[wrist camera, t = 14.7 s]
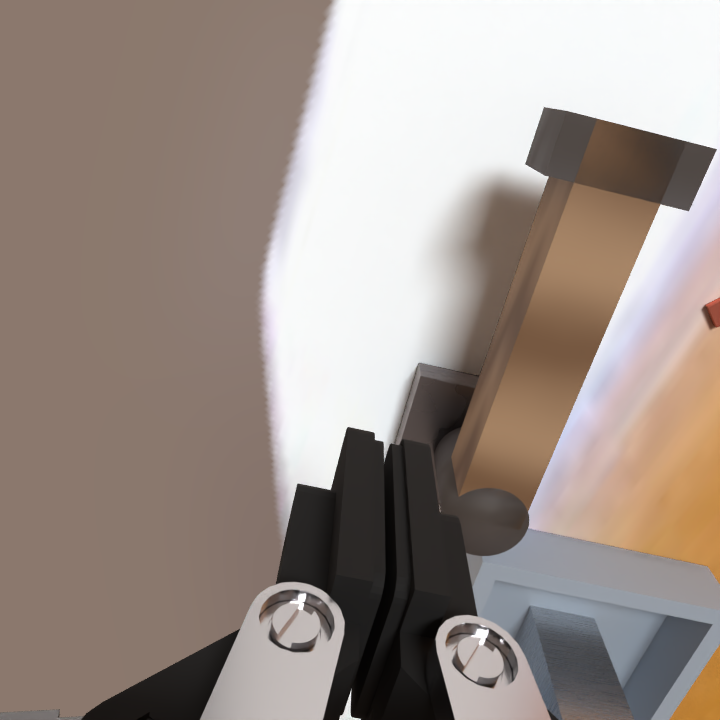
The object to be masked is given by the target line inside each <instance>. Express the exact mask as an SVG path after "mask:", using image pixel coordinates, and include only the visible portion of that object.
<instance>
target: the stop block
mask: <svg viewBox="0 0 720 720" xmlns="http://www.w3.org/2000/svg"><path fill="white" fill-rule="evenodd" d="M514 640H515V641H516V642H517V643H518V645H519V646H520V648H521V650H522V652H523V653H524V655H525V657H526V660H527V662H528V664H529V667H530V669H531V672H532V674H533V677H534V679H535V682H536V684H537V686H538V689H539V691H540V694H541V696H542V699H543V701H544V704H545V706H546V708H547V709H548V710H549V711H550V712H551V713H552V714H553V715H554V716H555V717H556V718H557V719H558V720H634V717H633V715H632V712H631V710H630V707H629V705H628V702H627V700H626V697H625V694H624V692H623V689H622V687H621V684H620V682H619V679H618V677H617V674H616V672H615V669H614V667H613V664H612V661H611V659H610V656H609V654H608V651H607V649H606V646H605V644H604V641H603V639H602V636H601V633H600V631H599V628H598V626H597V623H596V621H595V618H591V617H587V616H582V615H577V614H572V613H567V612H562V611H557V610H552V609H547V608H542V607H537V606H532V605H530V607H529V609H528V611H527V614H526V616H525V618H524V620H523V622H522V624H521V626H520V628H519V631H518V633H517V635H516V637H515V639H514Z"/></svg>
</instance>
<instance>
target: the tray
mask: <svg viewBox="0 0 720 720" xmlns="http://www.w3.org/2000/svg"><path fill="white" fill-rule="evenodd" d="M466 555H467V561H468V566H469V572H470V577H471V582H472V588H473V593H474V599H475V604H476V609H477V615H478V617H481V618H484V619H486V620H488V621H491V622H493V623H495V624H497V625H498V626H499V627H501V628H502V629H504V630H505V631H506V632H508V633H509V634H510V636H511V637H512V638H513V639H515V637H516V635H517V633H518V631H519V628H520V626H521V624H522V622H523V620H524V618H525V616H526V614H527V611H528V609H529V607H530V605H532V606H537V607H542V608H547V609H552V610H557V611H562V612H567V613H572V614H577V615H582V616H587V617H591V618H595V621H596V623H597V626H598V628H599V631H600V633H601V636H602V639H603V641H604V644H605V646H606V649H607V651H608V654H609V656H610V659H611V661H612V664H613V667H614V669H615V672H616V674H617V677H618V679H619V682H620V684H621V687H622V689H623V692H624V694H625V697H626V700H627V702H628V705H629V707H630V710H631V712H632V715H633V717H634V720H669V719H670V717H671V716H672V714H673V713H674V711H675V710H676V708H677V707H678V705H679V704H680V702H681V701H682V700H683V698H684V697H685V695H686V694H687V692H688V691H689V689H690V688H691V686H692V685H693V683H694V682H695V680H696V679H697V677H698V676H699V674H700V673H701V671H702V670H703V668H704V667H705V665H706V664H707V662H708V661H709V659H710V658H711V656H712V655H713V653H714V652H715V650H716V649H717V647H718V646H719V644H720V584H719V583H718V581H717V580H716V578H715V577H714V575H713V574H712V573H711V571H710V570H709V568H708V567H707V566H703V565H698V564H693V563H689V562H684V561H679V560H674V559H670V558H665V557H660V556H655V555H651V554H646V553H641V552H636V551H632V550H627V549H622V548H617V547H613V546H608V545H603V544H598V543H593V542H589V541H584V540H579V539H574V538H570V537H565V536H560V535H555V534H551V533H546V532H541V531H536V530H532V529H527V532H526V534H525V536H524V537H523V538H522V540H521V541H520V542H519V543H518V544H517V545H516V546H514V547H513V548H511V549H510V550H508V551H506V552H503V553H500V554H497V555H492V556H476V555H471V554H468V553H466Z"/></svg>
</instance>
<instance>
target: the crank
mask: <svg viewBox="0 0 720 720" xmlns="http://www.w3.org/2000/svg"><path fill="white" fill-rule="evenodd" d="M716 150H717V149H714V148H710V147H706V146H702V145H698V144H694V143H690V142H686V141H682V140H678V139H674V138H671V137H667V136H663V135H659V134H655V133H651V132H647V131H643V130H639V129H635V128H631V127H627V126H624V125H620V124H616V123H612V122H608V121H604V120H600V119H596V118H592V117H588V116H584V115H580V114H577V113H573V112H569V111H564V110H557V109H551V108H545V107H544V109H543V112H542V115H541V118H540V121H539V124H538V127H537V130H536V133H535V136H534V139H533V142H532V145H531V148H530V151H529V154H528V157H527V161H526V165H528V166H529V167H531V168H533V169H535V170H536V171H538V172H540V173H541V174H543V175H545V176H549V178H548V181H547V184H546V186H545V189H544V192H543V195H542V198H541V201H540V204H539V207H538V209H537V212H536V215H535V218H534V221H533V224H532V227H531V229H530V232H529V235H528V238H527V241H526V244H525V247H524V250H523V252H522V255H521V258H520V261H519V264H518V267H517V270H516V273H515V275H514V278H513V281H512V284H511V287H510V290H509V293H508V295H507V298H506V301H505V304H504V307H503V310H502V313H501V316H500V318H499V321H498V324H497V327H496V330H495V333H494V336H493V339H492V341H491V344H490V347H489V350H488V353H487V356H486V359H485V361H484V364H483V367H482V370H481V373H480V376H479V379H478V382H477V384H476V387H475V390H474V393H473V396H472V399H471V402H470V405H469V407H468V410H467V413H466V416H465V419H464V422H463V425H462V427H460V428H457V429H455V430H453V431H451V432H449V433H448V434H447V435H445V436H444V437H443V438H442V439H441V441H440V442H439V444H438V445H437V447H436V450H435V455H434V461H435V469H436V476H437V484H438V491H439V498H440V506H441V513H445V514H450V515H455V516H457V517H458V518H459V520H460V523H461V529H462V534H463V539H464V545H465V550H466V553H468V554H471V555H476V556H492V555H497V554H500V553H503V552H506V551H508V550H510V549H511V548H513V547H514V546H516V545H517V544H518V543H519V542H520V541H521V540H522V538H523V537H524V536H525V534H526V532H527V529H528V526H529V514H528V510H529V508H530V506H531V503H532V501H533V499H534V496H535V494H536V492H537V489H538V487H539V485H540V482H541V480H542V478H543V475H544V473H545V471H546V468H547V466H548V464H549V461H550V459H551V457H552V455H553V452H554V450H555V448H556V445H557V443H558V441H559V438H560V436H561V434H562V431H563V429H564V427H565V424H566V422H567V420H568V417H569V415H570V413H571V410H572V408H573V406H574V403H575V401H576V399H577V396H578V394H579V392H580V389H581V387H582V385H583V383H584V380H585V378H586V376H587V373H588V371H589V369H590V366H591V364H592V362H593V359H594V357H595V355H596V352H597V350H598V348H599V345H600V343H601V341H602V338H603V336H604V334H605V331H606V329H607V327H608V324H609V322H610V320H611V317H612V315H613V313H614V311H615V308H616V306H617V304H618V301H619V299H620V297H621V294H622V292H623V290H624V287H625V285H626V283H627V280H628V278H629V276H630V273H631V271H632V269H633V266H634V264H635V262H636V259H637V257H638V255H639V252H640V250H641V248H642V245H643V243H644V241H645V239H646V236H647V234H648V232H649V229H650V227H651V225H652V222H653V220H654V218H655V215H656V213H657V211H658V208H659V206H660V204H662V205H666V206H670V207H674V208H678V209H682V210H686V211H689V210H690V207H691V205H692V203H693V201H694V198H695V196H696V194H697V192H698V190H699V187H700V185H701V183H702V181H703V179H704V176H705V174H706V172H707V170H708V168H709V165H710V163H711V161H712V159H713V156H714V154H715V152H716Z"/></svg>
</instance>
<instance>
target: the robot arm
mask: <svg viewBox="0 0 720 720" xmlns="http://www.w3.org/2000/svg"><path fill="white" fill-rule="evenodd" d="M351 688H352V691H351ZM350 691H351V716H352V717H354V718H360V719H361V720H558V719H557V718H556V717H555V716H554V715H553V714H552V713H551V712H550V711H549V710H548V709H547V708H546V706H545V704H544V701H543V699H542V696H541V694H540V691H539V689H538V686H537V684H536V682H535V679H534V677H533V674H532V672H531V669H530V667H529V664H528V662H527V660H526V657H525V655H524V653H523V652H522V650H521V648H520V646H519V645H518V643H517V642H516V641H515V640H514V639H513V638H512V637H511V636H510V634H509V633H508V632H506V631H505V630H504V629H502V628H501V627H499V626H498V625H497V624H495V623H493V622H491V621H488V620H486V619H484V618H481V617H478V615H477V609H476V604H475V599H474V593H473V588H472V582H471V577H470V572H469V566H468V561H467V555H466V550H465V545H464V539H463V534H462V529H461V523H460V520H459V518H458V517H457V516H455V515H450V514H445V513H440V512H439V505H438V498H437V491H436V484H435V477H434V470H433V463H432V456H431V449H430V445H429V444H426V443H421V442H416V441H412V440H407V439H402V440H401V442H400V444H399V445H396V444H390V446H389V449H388V452H387V455H386V459H385V462H384V444H383V442H382V441H377V440H375V434H374V432H369V431H364V430H359V429H355V428H350V427H348V428H347V430H346V434H345V437H344V441H343V445H342V449H341V453H340V457H339V461H338V465H337V468H336V472H335V476H334V480H333V484H332V488H331V490H327V489H322V488H317V487H312V486H308V485H303V484H297V488H296V492H295V497H294V501H293V505H292V510H291V514H290V519H289V523H288V528H287V532H286V537H285V542H284V546H283V551H282V556H281V561H280V566H279V571H278V577H277V581H276V585H273V586H270V587H268V588H267V589H265V590H264V591H262V592H261V593H260V594H258V596H257V597H256V599H255V600H254V601H253V603H252V604H251V606H250V608H249V611H248V613H247V615H246V617H245V620H244V622H243V624H242V626H241V629H239V630H237V631H235V632H233V633H231V634H229V635H228V636H226V637H224V638H222V639H220V640H218V641H216V642H214V643H213V644H211V645H209V646H207V647H205V648H203V649H201V650H199V651H198V652H196V653H194V654H192V655H190V656H188V657H186V658H185V659H183V660H181V661H179V662H177V663H175V664H173V665H171V666H169V667H168V668H166V669H164V670H162V671H160V672H158V673H157V674H155V675H153V676H151V677H149V678H147V679H145V680H144V681H141V682H139V683H138V684H136V685H134V686H132V687H130V688H128V689H126V690H125V691H123V692H121V693H119V694H117V695H115V696H113V697H111V698H110V699H108V700H106V701H104V702H102V703H101V704H99V705H98V706H96V707H95V708H94V709H92V710H91V711H89V712H88V713H86V715H85V716H79V717H61V718H59V712H60V710H41V711H40V710H39V711H21V712H1V713H0V720H339V718H340V715H342V714H343V712H344V709H345V706H346V703H347V700H348V697H349V694H350Z"/></svg>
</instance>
